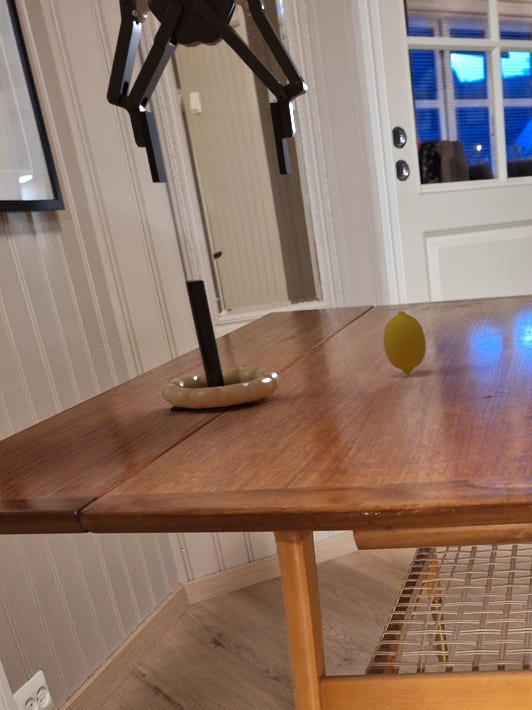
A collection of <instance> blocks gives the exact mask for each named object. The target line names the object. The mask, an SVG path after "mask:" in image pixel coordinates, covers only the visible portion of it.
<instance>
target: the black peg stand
mask: <svg viewBox="0 0 532 710" xmlns="http://www.w3.org/2000/svg"><path fill="white" fill-rule="evenodd" d="M185 287H186V291H187V292H186V293H187V296H188V301H189V306H190V311H191V315H192V319H193V324H194V325H193V326H194V329H195V334H196V338H197V343H198V347H199V352H200V358H201V362H202V367H203V372H205V376H206V381H207V386H208V388H209V387H222V386H225V383H224V378H223V373H222V369H223V368H222V364H221V359H220V354H219V349H218V344H217V339H216V335H215V330H214V324H213V320H212V315H211V310H210V306H209V305H210V304H209V300H208V295H207V291H206V285H205V281H204V279H199V278H198V279H189V280H186V281H185ZM265 399H266V397H263V398H260V399H258V400H255V401H252V402H246V403H241V404H236V405H230V406H225V407H211V408H183V407H175V406H173V405H172V406H171V407H170V412H171V413H175V412H176V413H177V412H187V411H188V412H189V411H203V410H215V409H216V410H217V409H218V410H219V409H229V408H230V409H231V408H245V407H246V408H247V407H249V406H250V405H251V404H253V403H256V402H257V403H258V402H263V401H264V400H265Z"/></svg>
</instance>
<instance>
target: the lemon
mask: <svg viewBox="0 0 532 710" xmlns="http://www.w3.org/2000/svg"><path fill="white" fill-rule="evenodd" d="M383 330H384V331H383V350H384V353H385V356H386V358H387V360H388V361H389V363H390V364H391V365H392V366H393V367H394V368H396V369H399V370H401V371H402V372H403V373H404V374H405V375H410V374H411V373H412V372H413V370H414V369H415V368H417V367H418V366H419V365H421V363H422V362H423V360H424V358H425V355H426V350H427V349H426V348H427V343H426V336H425V332H424V329H423V327H422V324H421V323H420V322H419V320H418V319H417V318H415V317H414V316H413V315H410V314H409V313H406V312H405V311H404V310H401V311H398V312H397V313H396V314H395V315H394V316H392V317H391V318H389V320H388V321H387V322H386V325H385V327H384V329H383Z"/></svg>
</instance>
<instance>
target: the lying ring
mask: <svg viewBox="0 0 532 710" xmlns="http://www.w3.org/2000/svg"><path fill="white" fill-rule="evenodd" d="M222 373H223V378H224V383H225V386H222V387H209V388H208V386H207V381H206V376H205V372H204V371H200V372H194V373H190V374H187V375H184V376H179V377H177V378H174V379H171V380H170V381H169V382H168V383H166V384H165V385H164V386H163V387H162V389H161V392H160V393H161V397H162V399H163V400H164V401H165V402H167V403H168V404H170V405H171V406H172V407H173V406H175V407H183V408H211V407H225V406H230V405H236V404H241V403H246V402H252V401H255V400H258V399H260V398H263V397H265V398H266V397H270V396H271V395H273V394H274V392H275V391H276V390H277V389H278V388H279V386H280V381H281V380H280V377H279V375H278V374H277V373H276V372H274V371H271V370H269V369H266V368H262V367H233V368H232V367H231V368H222ZM252 403H253V402H252Z"/></svg>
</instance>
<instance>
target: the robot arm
mask: <svg viewBox="0 0 532 710" xmlns="http://www.w3.org/2000/svg"><path fill="white" fill-rule="evenodd" d="M118 5H119V13H120V23H119V30H118V35H117V40H116V46H115V49H114V50H115V51H114V55H113V60H112V64H111V65H112V66H111V70H110V76H109V80H108V86H107V91H106V101H107V102H108V103H109V104H110V105H112V106H115V107H119V108H122V109H124V110H125V111H126V112H127V113H128V116H129V121H130V125H131V129H132V134H133V138H134V143H135V144H136V146H137V148H145V153H146V157H147V162H148V166H149V172H150V176H151V181H152V184H161V183H162V184H163V183H164V184H165V183H168V179H167V172H166V169H165V164H164V158H163V153H162V148H161V143H160V139H159V133H158V128H157V124H156V118H155V113H154V112H153V111H152V112H151V111H147V110H146V109H147V106H148V104H149V102H150V100H151V98H152V96H153V94H154V92H155V90H156V87H157V86H158V83H159V82H160V80H161V77H162V75H163V73H164V72H165V70H166V67H167V66H168V63H169V61H170V59H171V57H172V56H173V54H174V53H175V52H176V50H177V48H178V47H179V45H181V46H184V47H185V48H196V47H198V46H201V45H204V46H209V47H213V46H214V47H215V46H218V44H219V43H221V42H222V41H223V42H225V43H226V45H228V46H229V48H231V50H232V51H234V53H235V54H236V55H237V56H238V57H239V58H240V59H241V60H242V62H243V63H244V64H245V65H246V66H247V67H248V68H249V69H250V71H252V73H253V74H254V75H255V76H256V78H258V80H260V81H261V83H262V84H263V85H264V87H266V88H267V89H268V90H269V91H270V92H271V94H272V95H273V96H274V97H275V99H276V101H277V102H269V109H270V116H271V122H272V123H271V124H272V129H273V136H274V143H275V148H276V157H277V158H276V159H277V165H278V171H279V175H282V176H283V175H284V176H285V175H287V176H288V175H292V169H291V161H290V154H289V147H288V139H294V138H295V137H296V127H295V119H294V113H293V101H294V100H295V99H296V98H298V97H300V96H302V95H305V94H307V92H308V85H307V83H306V81H305V79H304V78H303V76H302V74H301V73H300V71H299V69H298V67H297V66H296V64H295V62H294V60H293V58H292V56H291V54H290V53H289V51H288V49H287V48H286V46H285V44H284V42H283V41H282V39H281V37H280V36H279V34H278V31H277V30H276V28H275V27H274V25H273V23H272V21H271V19H270V18H269V16H268V13H267V8H266V4H265V0H118ZM237 6H239V7H241V9H242V11H243V12H244V14H246V15H247V16H250V17H252V19H253V22H254V24H255V26H256V28H257V30H258V31H259V32H260V34H261V36H262V38H263V39H264V41H265V43H266V44H267V47H268V49H269V50H270V51H271V53H272V55H273V57H274V60H276V62H277V64H278V66H279V67H280V69H281V71H282V73H283V74H284V76H285V78H286V80H287V81H288V83H286V84H285V85H284V84H283V82H282V81H280V79H279V78H278V77H277V76H276V75H275V74H274V73H273V72H272V71H271V69H269V67H268V66H267V65H266V64H265V63H264V61H262V59H261V58H260V57H259V56H258V54H256V53H255V52H254V50H253V49H252V48H251V47H250V45H248V44H247V43H246V41H245V40H244V39H243V38H242V36H241V35H240V34H239V33H238V32H237V31H236V30H235V29H234V28H233V26H231V24H230V23H231V21H232V19H233V17H234V14H235V12H236V9H237ZM149 12H151V13H152V15H153V16H154V17H155V19H156V20H157V21H158V22H159V24H160V25H159V27H158V29H157V31H156V33H155V35H154V37H153V43H152V46H151V47H150V50H149V52H148V53H147V56H146V58H145V60H144V62H143V64H142V66H141V68H140V70H139V72H138V74H137V76H136V79H135V81H134V83H133V85H132V87H131V82H132V78H133V73H134V69H135V68H134V67H135V62H136V58H137V54H138V48H139V44H140V38H141V33H142V24H143V23H145V22H146V20H147V15H148V13H149ZM130 87H131V89H130Z"/></svg>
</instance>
